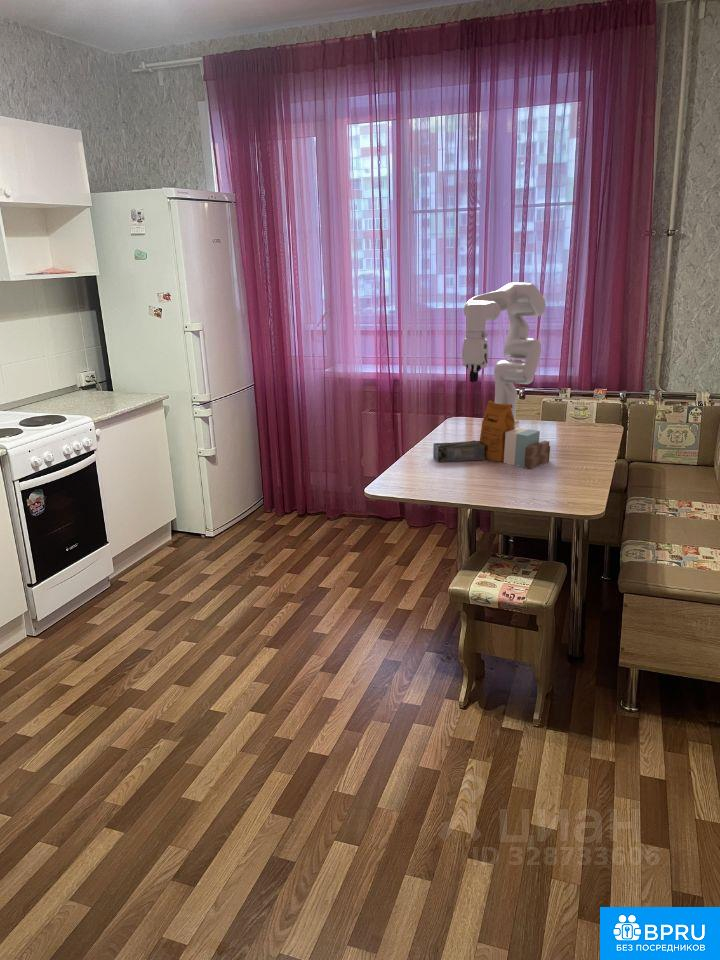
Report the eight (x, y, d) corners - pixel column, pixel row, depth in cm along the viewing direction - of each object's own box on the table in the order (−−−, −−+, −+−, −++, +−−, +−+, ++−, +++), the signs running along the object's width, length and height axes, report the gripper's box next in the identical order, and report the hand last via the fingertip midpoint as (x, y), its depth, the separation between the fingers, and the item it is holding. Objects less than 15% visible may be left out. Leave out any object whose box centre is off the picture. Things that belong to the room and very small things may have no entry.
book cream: (515, 457, 287) (517, 427, 284) (526, 459, 285) (528, 429, 281) (503, 463, 280) (505, 432, 276) (514, 465, 277) (516, 434, 274)
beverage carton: (432, 457, 288) (432, 441, 286) (479, 455, 291) (480, 439, 289) (437, 462, 280) (438, 446, 278) (486, 460, 283) (486, 444, 281)
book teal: (526, 459, 285) (528, 429, 281) (537, 461, 282) (539, 431, 279) (514, 465, 277) (516, 434, 274) (525, 467, 275) (527, 435, 271)
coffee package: (491, 452, 295) (494, 398, 288) (516, 459, 286) (519, 403, 279) (474, 456, 289) (477, 401, 282) (499, 463, 280) (502, 406, 273)
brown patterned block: (504, 452, 295) (505, 432, 293) (549, 461, 282) (550, 441, 280) (483, 459, 285) (484, 439, 282) (528, 469, 272) (530, 448, 269)
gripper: (496, 335, 287) (494, 382, 293) (465, 332, 297) (463, 378, 303) (486, 337, 282) (484, 385, 288) (454, 334, 292) (452, 380, 297)
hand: (473, 381), depth 295 cm, fingers closed
